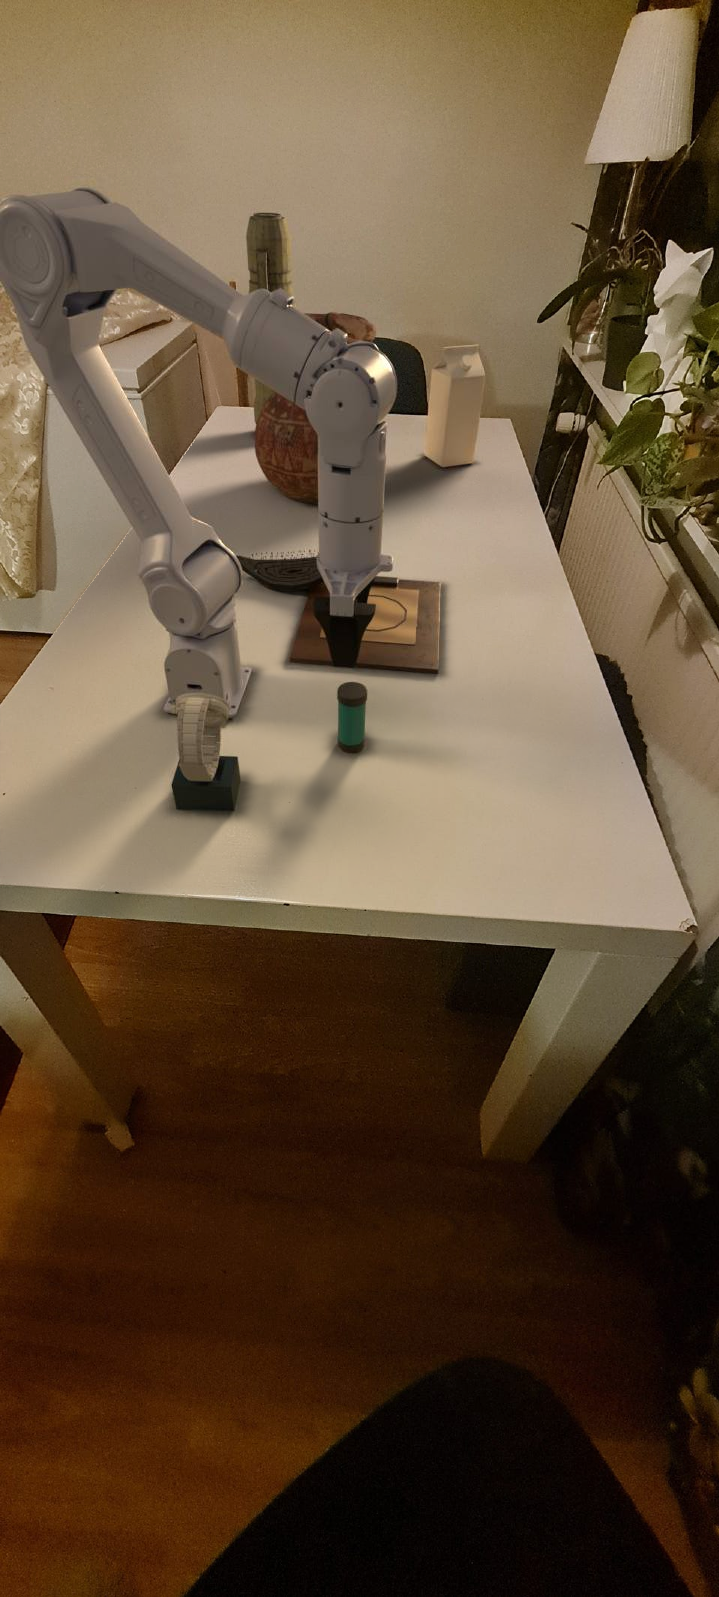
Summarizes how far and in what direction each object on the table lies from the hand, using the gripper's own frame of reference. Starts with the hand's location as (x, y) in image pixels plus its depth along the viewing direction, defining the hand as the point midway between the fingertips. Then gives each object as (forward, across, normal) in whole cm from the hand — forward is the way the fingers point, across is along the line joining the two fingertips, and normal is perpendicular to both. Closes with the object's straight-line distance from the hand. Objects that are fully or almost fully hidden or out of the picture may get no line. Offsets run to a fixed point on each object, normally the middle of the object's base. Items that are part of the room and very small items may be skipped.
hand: (348, 644), depth 71 cm
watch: (+10, -14, +12) cm, 21 cm away
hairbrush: (+9, +31, +16) cm, 36 cm away
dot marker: (+9, -4, -1) cm, 10 cm away
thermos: (+10, +92, +23) cm, 95 cm away
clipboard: (+9, +21, -1) cm, 23 cm away
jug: (+10, +65, +12) cm, 66 cm away
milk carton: (+10, +84, -12) cm, 85 cm away
